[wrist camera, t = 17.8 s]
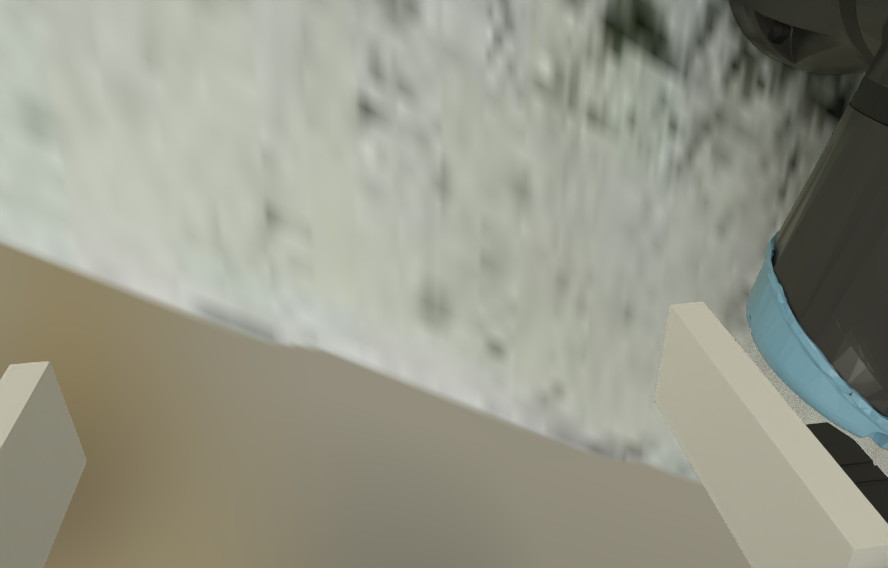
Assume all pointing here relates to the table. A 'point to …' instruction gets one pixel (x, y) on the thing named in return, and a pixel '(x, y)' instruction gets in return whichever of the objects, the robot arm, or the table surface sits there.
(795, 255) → the robot arm
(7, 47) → the table surface
